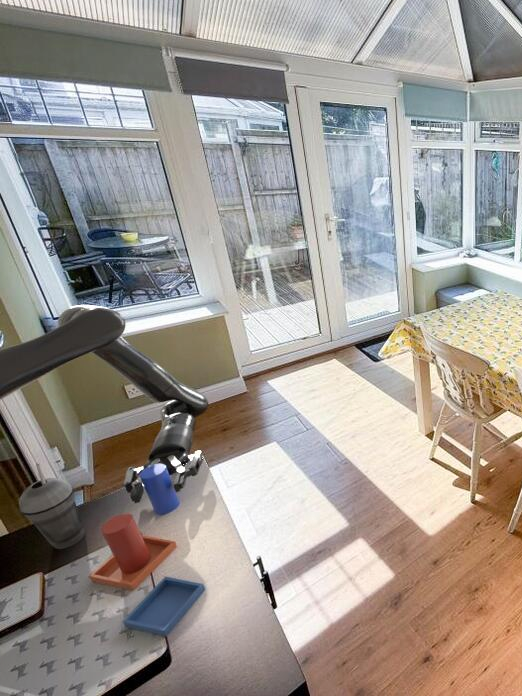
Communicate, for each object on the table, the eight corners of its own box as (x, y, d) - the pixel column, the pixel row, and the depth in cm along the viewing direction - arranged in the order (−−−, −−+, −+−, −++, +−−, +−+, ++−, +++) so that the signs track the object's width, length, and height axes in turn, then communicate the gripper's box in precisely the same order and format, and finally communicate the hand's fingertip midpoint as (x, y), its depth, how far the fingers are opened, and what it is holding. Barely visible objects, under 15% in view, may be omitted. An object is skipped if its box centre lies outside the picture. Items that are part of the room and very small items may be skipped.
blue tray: (126, 629, 70) (122, 621, 69) (168, 583, 77) (165, 576, 77) (167, 638, 69) (163, 631, 68) (206, 591, 76) (203, 583, 76)
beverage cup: (56, 531, 86) (14, 457, 78) (101, 520, 89) (64, 448, 81) (36, 562, 80) (-12, 485, 72) (85, 549, 83) (44, 474, 75)
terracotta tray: (92, 583, 77) (88, 576, 76) (139, 540, 85) (136, 533, 84) (134, 592, 76) (131, 585, 75) (177, 548, 84) (174, 541, 83)
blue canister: (150, 514, 91) (134, 477, 86) (168, 498, 95) (153, 462, 90) (167, 517, 90) (152, 480, 86) (185, 501, 94) (171, 465, 90)
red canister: (115, 572, 78) (94, 531, 74) (137, 551, 82) (118, 511, 78) (135, 576, 78) (115, 535, 73) (156, 554, 82) (138, 515, 77)
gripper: (130, 441, 97) (106, 492, 83) (203, 425, 103) (192, 470, 90) (140, 466, 100) (119, 519, 86) (211, 449, 106) (201, 496, 93)
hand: (156, 494), depth 88 cm, fingers open, 6 cm apart
